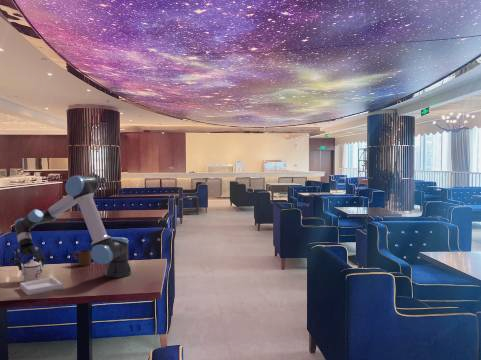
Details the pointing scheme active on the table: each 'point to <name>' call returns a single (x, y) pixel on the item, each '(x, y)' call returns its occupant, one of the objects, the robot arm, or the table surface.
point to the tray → (41, 286)
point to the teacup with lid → (32, 271)
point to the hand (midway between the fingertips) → (32, 272)
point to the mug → (83, 257)
